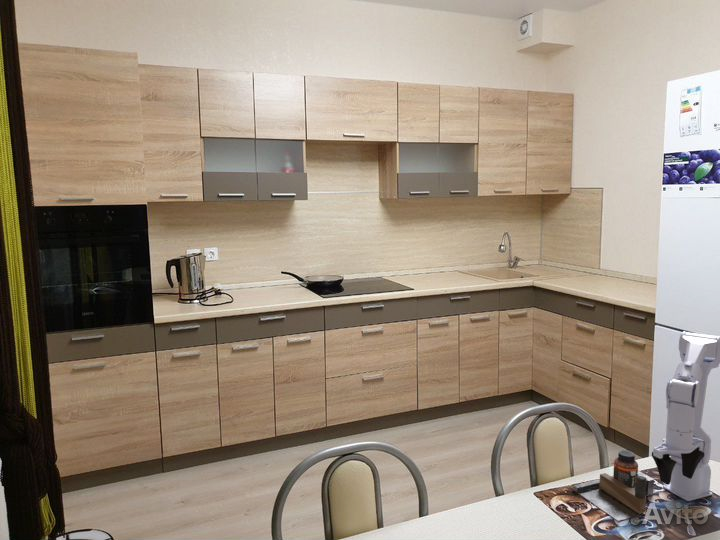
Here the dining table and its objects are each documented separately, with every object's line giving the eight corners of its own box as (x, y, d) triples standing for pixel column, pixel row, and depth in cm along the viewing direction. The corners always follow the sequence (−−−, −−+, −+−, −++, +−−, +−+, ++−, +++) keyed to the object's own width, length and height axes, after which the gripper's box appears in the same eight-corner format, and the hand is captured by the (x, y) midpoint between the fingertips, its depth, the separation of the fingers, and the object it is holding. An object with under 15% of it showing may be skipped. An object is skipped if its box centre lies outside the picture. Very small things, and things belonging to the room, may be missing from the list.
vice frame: (624, 477, 157) (625, 463, 157) (672, 506, 143) (673, 490, 142) (573, 490, 151) (573, 475, 150) (618, 521, 136) (619, 504, 136)
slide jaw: (605, 486, 152) (607, 455, 151) (646, 512, 139) (648, 479, 138) (598, 487, 151) (600, 457, 150) (639, 514, 138) (641, 481, 137)
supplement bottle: (639, 498, 146) (641, 459, 145) (615, 496, 148) (617, 457, 146) (633, 487, 152) (635, 449, 151) (610, 485, 153) (612, 447, 152)
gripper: (686, 417, 140) (682, 467, 142) (644, 426, 135) (640, 477, 137) (712, 428, 134) (708, 480, 136) (669, 437, 129) (665, 491, 131)
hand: (676, 479), depth 136 cm, fingers open, 7 cm apart
